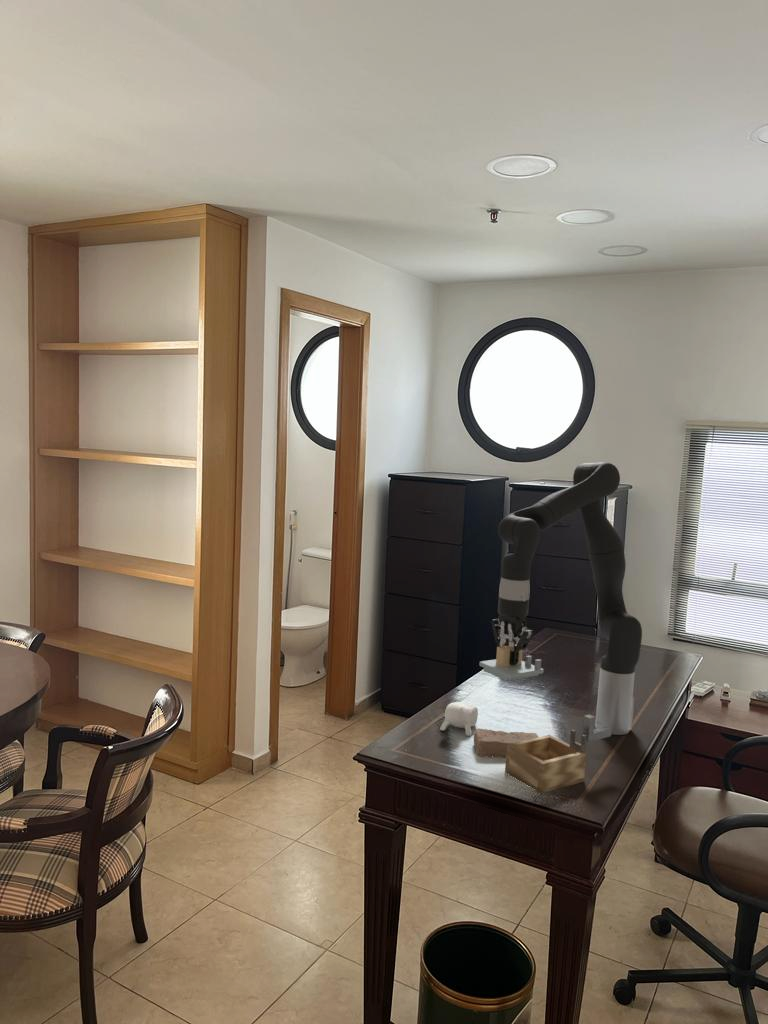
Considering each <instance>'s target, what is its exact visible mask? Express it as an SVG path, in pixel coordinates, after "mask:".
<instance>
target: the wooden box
mask: <svg viewBox="0 0 768 1024" xmlns="http://www.w3.org/2000/svg"><path fill="white" fill-rule="evenodd" d="M576 733H577V731H576V730H575V729H570V738H569V743H567V742H565V741H563V740H561V739H559V738H557V737H555V736H554V735H551V734H547V735H542V736H538V738H533V739H529V740H525V741H520V742H516V743H512V744H507V753H506V758H505V766H504V767H505V769H504V773H505V774H506V773H507V774H506V775H508V774H509V775H508V776H510V777H511V776H512V777H511V778H513V777H514V778H513V779H515V778H516V779H517V780H516V779H515V780H516V781H518V780H519V781H518V782H520V781H521V782H520V783H522V782H523V783H525V784H526V785H525V784H524V785H525V786H527V785H528V786H530V787H531V788H530V787H529V788H530V789H532V788H533V789H535V790H536V791H535V790H534V791H535V792H537V791H538V792H537V793H539V794H540V793H542V794H545V793H548V792H551V791H552V792H553V791H555V790H559V789H563V788H565V787H566V788H567V787H569V786H573V785H576V784H579V783H584V782H585V778H586V777H585V775H586V774H585V773H586V763H587V752H586V749H587V748H586V747H587V741H586V738H587V736H586V735H583V734H581V741H580V743H579V742H577V741H576ZM523 783H522V784H523ZM528 786H527V787H528ZM533 789H532V790H533Z"/></svg>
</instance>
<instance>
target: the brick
mask: <svg viewBox="0 0 768 1024" xmlns="http://www.w3.org/2000/svg"><path fill="white" fill-rule="evenodd" d="M538 737H539V735H538V733H536V732H523V731H520V732H519V731H511V732H507V731H504V730H493V729H487V728H485V729H484V728H475V729H474V734H473V744H474V748H475V752H476V751H477V752H476V753H477V755H478V756H480V757H484V756H488V757H487V758H494V757H497V758H498V757H501V758H500V759H506V753H507V744H512V743H516V742H520V741H525V740H529V739H533V738H538ZM492 756H493V757H492ZM502 757H503V758H502Z"/></svg>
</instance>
